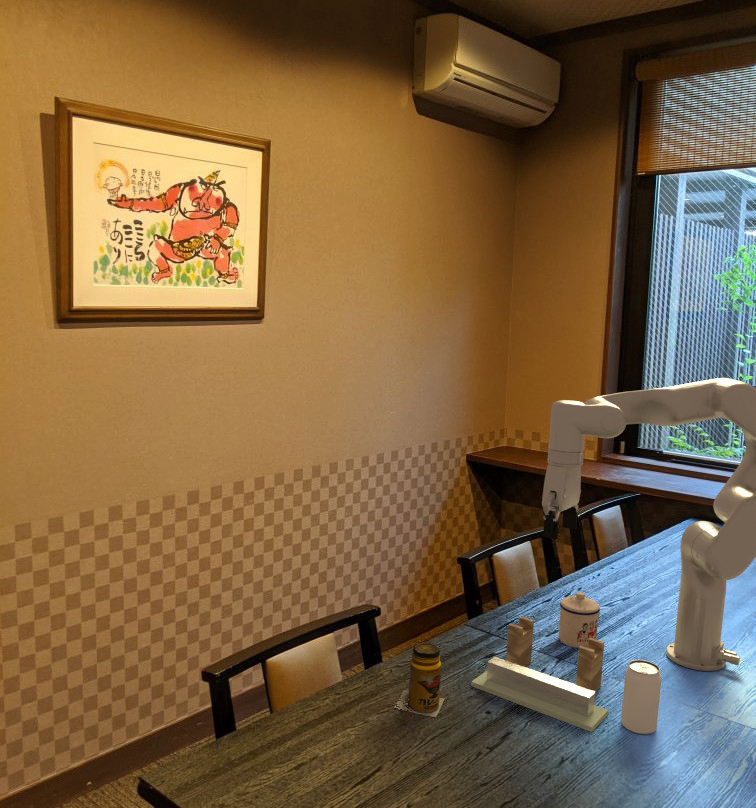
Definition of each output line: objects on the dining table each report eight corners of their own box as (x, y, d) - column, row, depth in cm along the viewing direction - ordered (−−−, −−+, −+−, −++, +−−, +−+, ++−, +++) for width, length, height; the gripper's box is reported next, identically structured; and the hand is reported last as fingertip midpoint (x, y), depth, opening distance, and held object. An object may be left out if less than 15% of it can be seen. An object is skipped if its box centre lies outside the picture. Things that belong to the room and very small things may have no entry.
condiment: (436, 718, 151) (439, 658, 149) (393, 709, 153) (396, 650, 152) (444, 699, 158) (447, 642, 156) (403, 691, 160) (406, 635, 159)
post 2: (600, 686, 165) (604, 641, 164) (589, 697, 161) (592, 651, 159) (587, 681, 167) (590, 637, 166) (575, 692, 163) (578, 647, 161)
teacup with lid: (580, 652, 181) (584, 604, 179) (549, 638, 188) (552, 591, 186) (612, 640, 188) (616, 593, 186) (581, 626, 195) (585, 581, 193)
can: (656, 721, 153) (662, 662, 151) (656, 738, 147) (662, 677, 145) (621, 714, 155) (626, 656, 153) (620, 731, 149) (625, 671, 147)
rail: (593, 711, 154) (595, 691, 153) (587, 717, 151) (589, 697, 151) (493, 674, 167) (494, 656, 166) (486, 679, 164) (487, 661, 164)
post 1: (530, 662, 175) (533, 620, 174) (518, 672, 170) (521, 628, 169) (518, 658, 177) (521, 616, 175) (505, 667, 172) (508, 624, 171)
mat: (607, 714, 154) (608, 710, 154) (591, 732, 148) (592, 727, 148) (490, 672, 170) (490, 667, 170) (471, 686, 164) (471, 681, 163)
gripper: (566, 449, 182) (560, 521, 185) (531, 460, 168) (526, 538, 171) (597, 454, 178) (591, 528, 180) (564, 466, 164) (559, 546, 166)
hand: (559, 533), depth 176 cm, fingers open, 9 cm apart
